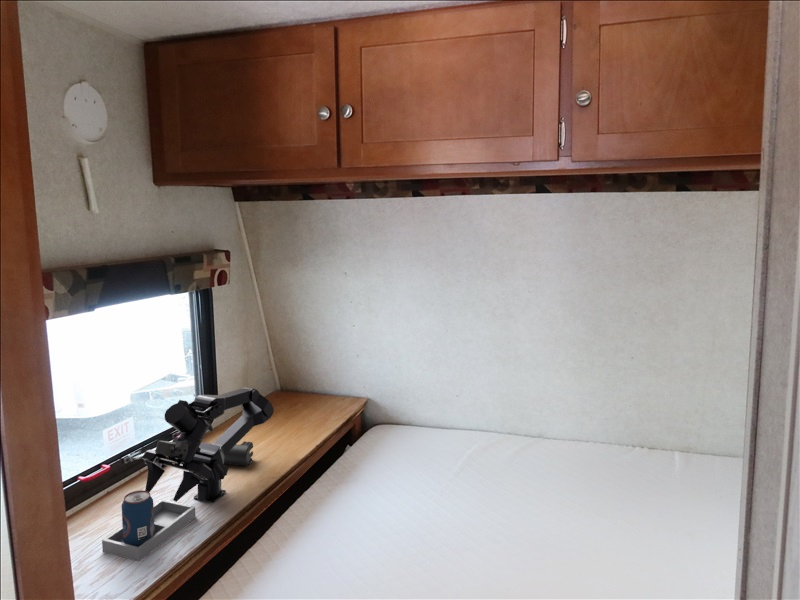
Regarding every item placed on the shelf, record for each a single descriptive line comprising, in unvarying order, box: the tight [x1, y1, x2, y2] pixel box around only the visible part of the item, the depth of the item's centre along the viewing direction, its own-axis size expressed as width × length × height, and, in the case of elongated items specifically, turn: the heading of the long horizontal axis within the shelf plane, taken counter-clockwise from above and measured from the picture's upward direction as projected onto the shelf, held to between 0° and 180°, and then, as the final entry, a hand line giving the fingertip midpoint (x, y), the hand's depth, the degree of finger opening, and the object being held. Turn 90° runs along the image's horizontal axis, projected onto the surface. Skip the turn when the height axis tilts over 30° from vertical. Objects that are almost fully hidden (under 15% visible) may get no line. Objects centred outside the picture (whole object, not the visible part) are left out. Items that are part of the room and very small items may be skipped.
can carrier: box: [101, 499, 197, 562], centre depth 146 cm, size 20×11×3 cm, turn 162°
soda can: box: [121, 490, 155, 547], centre depth 140 cm, size 7×7×12 cm
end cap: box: [224, 441, 254, 467], centre depth 185 cm, size 10×7×7 cm
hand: (160, 496), depth 147 cm, fingers open, 9 cm apart
